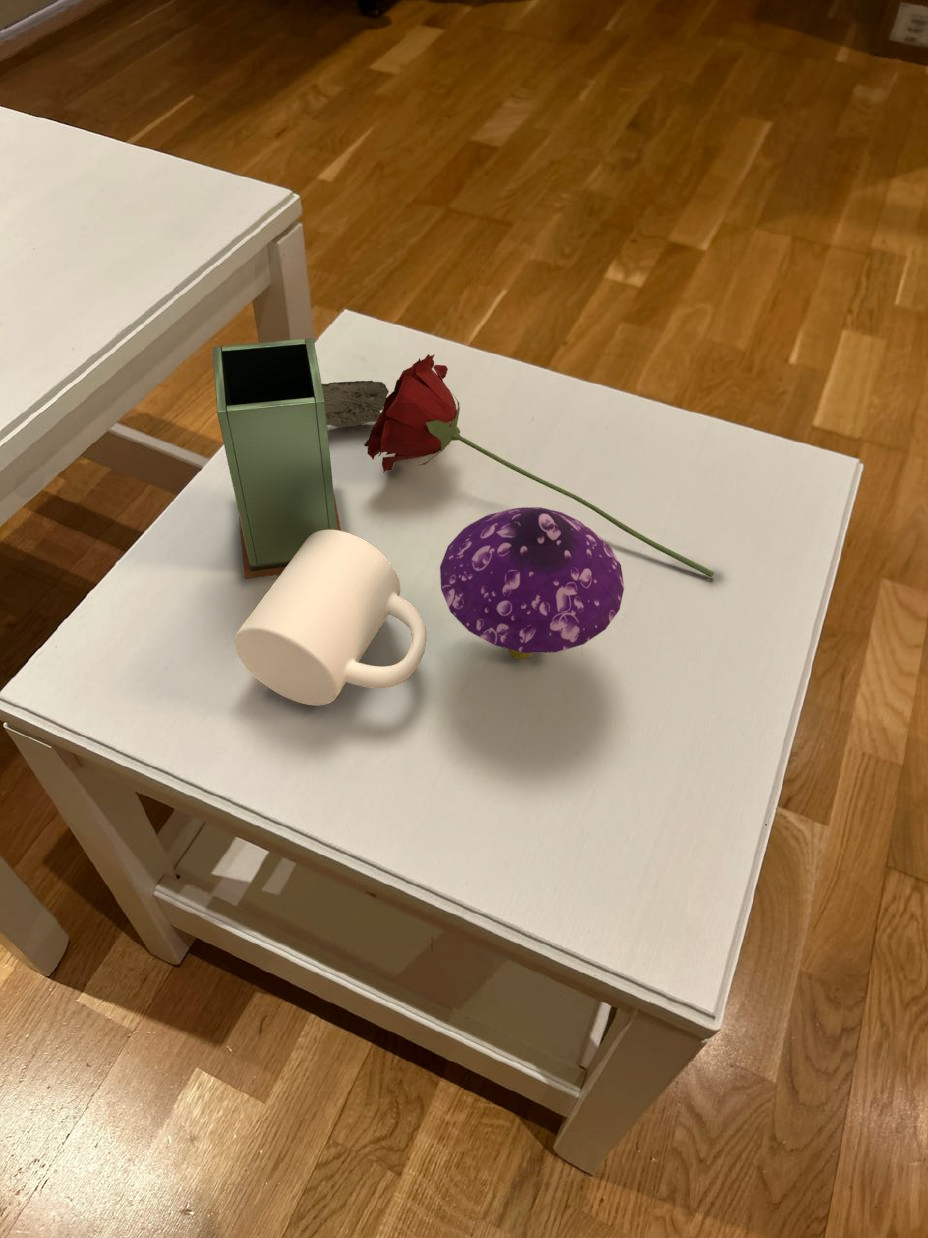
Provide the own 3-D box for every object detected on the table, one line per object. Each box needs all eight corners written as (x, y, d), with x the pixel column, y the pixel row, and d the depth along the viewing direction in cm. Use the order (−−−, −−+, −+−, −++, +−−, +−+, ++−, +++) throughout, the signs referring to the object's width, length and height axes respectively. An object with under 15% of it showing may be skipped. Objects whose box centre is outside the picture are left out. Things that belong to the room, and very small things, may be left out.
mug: (242, 681, 67) (224, 613, 61) (310, 584, 73) (300, 513, 67) (391, 742, 65) (389, 679, 59) (450, 638, 71) (453, 569, 64)
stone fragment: (279, 434, 83) (275, 389, 79) (279, 428, 83) (275, 384, 79) (388, 425, 85) (389, 382, 81) (387, 420, 85) (388, 377, 81)
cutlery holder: (251, 571, 73) (216, 412, 61) (245, 507, 78) (212, 346, 65) (340, 560, 75) (324, 401, 62) (329, 498, 79) (313, 337, 66)
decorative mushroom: (408, 686, 68) (406, 549, 56) (477, 568, 75) (489, 424, 63) (568, 752, 65) (603, 622, 53) (625, 622, 72) (666, 482, 60)
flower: (721, 582, 68) (366, 390, 71) (665, 655, 77) (351, 481, 79) (761, 490, 74) (434, 317, 77) (705, 567, 83) (412, 409, 86)
